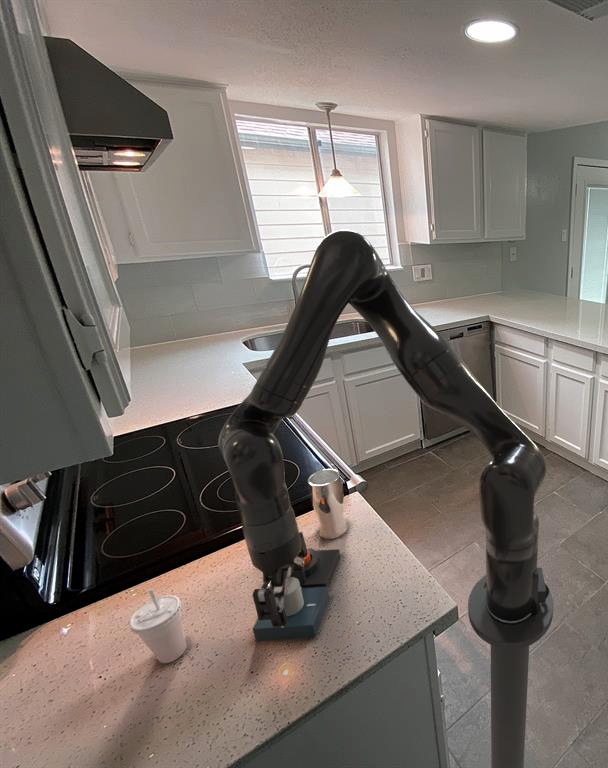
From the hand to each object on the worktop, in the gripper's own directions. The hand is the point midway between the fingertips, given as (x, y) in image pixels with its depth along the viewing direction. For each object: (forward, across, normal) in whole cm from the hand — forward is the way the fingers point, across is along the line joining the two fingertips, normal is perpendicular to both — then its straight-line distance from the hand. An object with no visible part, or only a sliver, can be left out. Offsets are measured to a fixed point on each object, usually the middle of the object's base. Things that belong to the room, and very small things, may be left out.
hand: (290, 603), depth 74 cm
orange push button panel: (+4, -10, -2) cm, 11 cm away
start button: (0, -10, -2) cm, 10 cm away
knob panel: (+4, 0, 0) cm, 4 cm away
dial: (+1, 0, 0) cm, 1 cm away
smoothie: (+4, +5, -18) cm, 19 cm away
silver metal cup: (+4, -23, 0) cm, 23 cm away
